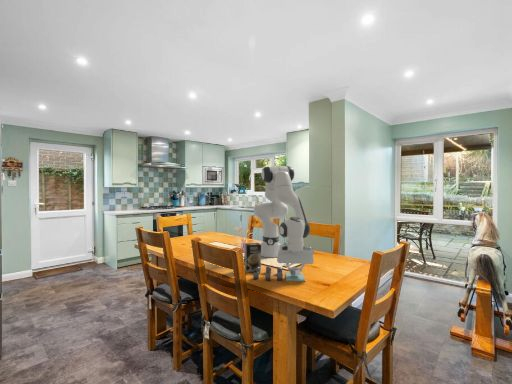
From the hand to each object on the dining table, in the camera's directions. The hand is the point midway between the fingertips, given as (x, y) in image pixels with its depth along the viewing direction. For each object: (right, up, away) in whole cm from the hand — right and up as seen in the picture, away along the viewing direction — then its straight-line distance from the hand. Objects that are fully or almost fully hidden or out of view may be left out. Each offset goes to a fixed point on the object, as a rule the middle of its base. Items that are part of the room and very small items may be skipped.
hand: (294, 271), depth 147 cm
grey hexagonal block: (0, -2, 0) cm, 2 cm away
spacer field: (-15, -3, +1) cm, 15 cm away
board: (0, -4, 0) cm, 4 cm away
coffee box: (-24, -3, +12) cm, 27 cm away
